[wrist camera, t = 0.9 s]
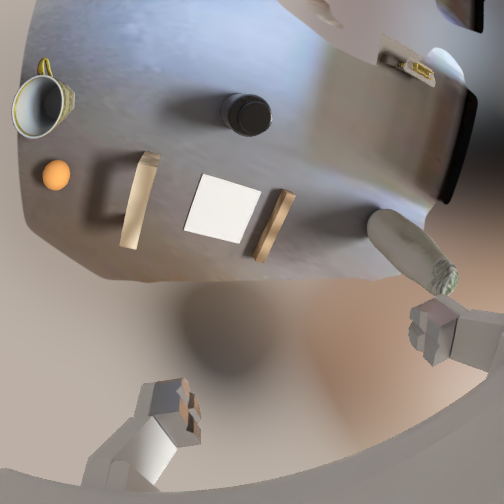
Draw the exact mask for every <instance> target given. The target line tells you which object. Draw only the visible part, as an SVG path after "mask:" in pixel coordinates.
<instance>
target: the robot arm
mask: <svg viewBox="0 0 504 504" xmlns="http://www.w3.org/2000/svg"><path fill="white" fill-rule="evenodd" d="M410 319H411V320H412V323H411V325H410V327H409V339H410V342H411V344H412V346H413V347H414V348H415V349H416V350H418V351H422V352H423V357H424V358H425V359H426V360H427V361H428V362H429V363H430V364H431V365H432V366H435V365H437V364H439V363H441V362H443V361H444V360H446V359H448V358H450V359H452V360H455V361H458V362H461V363H463V364H466V365H469V366H472V367H475V368H477V369H480V370H483V371H486V372H488V375H487V377H486V379H485V380H484V381H483V382H481V383H480V384H479V385H478V386H476V387H475V388H474V389H472V390H471V391H469V392H468V393H467V394H465V395H464V396H462V397H461V398H459V399H458V400H456V401H455V402H454V403H452V404H450V405H449V406H447V407H446V408H444V409H443V410H441V411H439V412H438V413H436V414H434V415H433V416H431V417H429V418H428V419H426V420H424V421H422V422H421V423H419V424H417V425H415V426H413V427H411V428H410V429H408V430H406V431H404V432H402V433H400V434H398V435H396V436H394V437H392V438H390V439H388V440H386V441H383V442H381V443H379V444H377V445H375V446H372V447H370V448H368V449H365V450H363V451H361V452H358V453H356V454H353V455H350V456H348V457H345V458H343V459H340V460H337V461H334V462H331V463H329V464H325V465H322V466H319V467H316V468H313V469H310V470H306V471H303V472H299V473H296V474H292V475H288V476H284V477H280V478H276V479H271V480H266V481H262V482H257V483H251V484H246V485H239V486H233V487H226V488H218V489H209V490H198V491H183V492H161V491H160V490H159V489H157V488H156V487H155V486H154V484H155V482H156V481H157V479H158V478H159V476H160V475H161V473H162V472H163V470H164V469H165V467H166V466H167V464H168V463H169V461H170V460H171V458H172V457H173V455H174V454H175V452H176V450H177V448H178V447H185V446H193V445H199V444H201V429H200V427H199V426H198V422H199V421H200V419H201V413H200V408H199V404H198V401H197V399H196V397H195V395H194V394H192V393H190V385H189V384H188V382H187V380H186V379H185V378H180V379H173V380H166V381H159V382H153V383H145V384H143V385H142V386H141V390H140V394H139V398H138V402H137V406H136V410H135V414H134V417H132V418H129V419H128V420H127V421H126V422H125V423H124V424H123V425H122V426H121V427H120V428H119V429H118V430H117V431H116V432H115V433H114V434H113V435H112V436H111V437H110V438H109V439H108V440H107V441H106V442H105V443H104V444H102V445H101V446H100V447H99V448H98V449H97V450H96V451H95V452H94V453H93V454H92V455H91V456H90V457H89V458H88V461H87V464H86V468H85V472H84V475H83V479H82V483H81V486H76V485H70V484H65V483H60V482H55V481H51V480H47V479H42V478H39V477H35V476H31V475H28V474H24V473H21V472H18V471H15V470H12V469H8V468H2V469H0V504H504V314H501V313H494V312H488V311H480V310H474V309H472V310H470V311H469V310H468V309H466V308H465V307H464V306H462V305H460V304H459V303H458V302H456V301H454V300H453V299H451V298H450V297H449V296H447V295H446V294H440V295H438V296H436V297H434V298H432V299H431V300H428V301H426V302H424V303H422V304H420V305H418V306H415V307H413V308H412V309H411V311H410Z"/></svg>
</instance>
